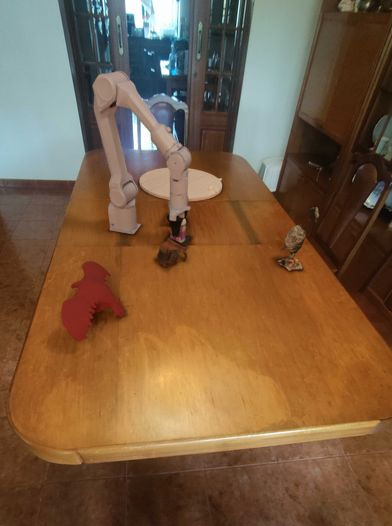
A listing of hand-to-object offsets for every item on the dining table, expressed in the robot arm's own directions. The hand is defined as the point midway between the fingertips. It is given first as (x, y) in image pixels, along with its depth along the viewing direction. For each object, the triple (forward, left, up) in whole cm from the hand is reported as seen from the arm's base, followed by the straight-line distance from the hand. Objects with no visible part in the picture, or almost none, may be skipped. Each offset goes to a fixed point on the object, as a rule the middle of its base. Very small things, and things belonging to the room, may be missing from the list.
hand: (177, 232), depth 112 cm
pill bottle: (0, 0, -3) cm, 3 cm away
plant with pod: (+40, -3, -3) cm, 40 cm away
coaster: (0, 0, -3) cm, 3 cm away
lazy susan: (-12, +52, -3) cm, 54 cm away
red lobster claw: (-9, -45, -3) cm, 46 cm away
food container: (-3, +14, -3) cm, 15 cm away
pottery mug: (+2, -15, -3) cm, 15 cm away
